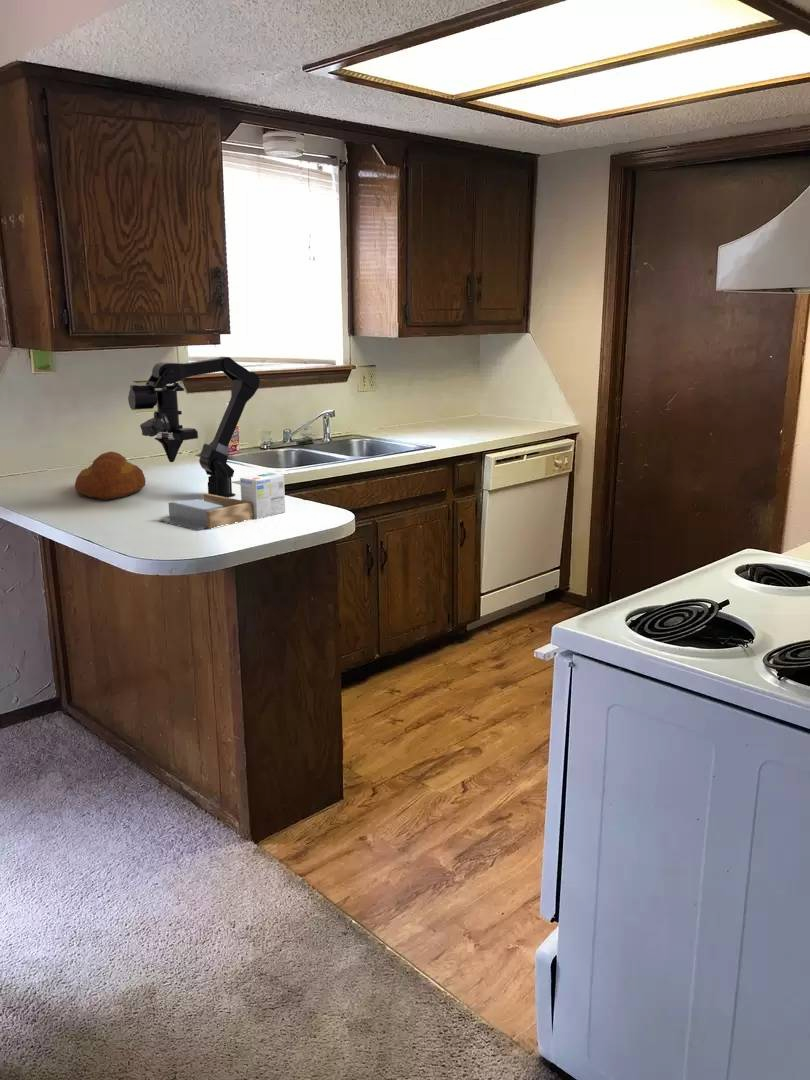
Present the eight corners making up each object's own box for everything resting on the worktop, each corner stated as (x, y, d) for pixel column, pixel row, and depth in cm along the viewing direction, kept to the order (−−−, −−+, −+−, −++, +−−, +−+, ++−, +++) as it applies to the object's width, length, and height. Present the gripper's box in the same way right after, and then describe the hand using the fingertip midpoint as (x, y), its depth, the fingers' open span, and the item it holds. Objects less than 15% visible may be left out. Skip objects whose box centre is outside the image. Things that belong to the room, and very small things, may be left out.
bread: (151, 481, 284) (148, 444, 281) (140, 502, 253) (136, 460, 250) (85, 483, 280) (81, 445, 277) (65, 504, 249) (60, 462, 246)
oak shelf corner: (207, 509, 243) (206, 493, 241) (253, 518, 231) (252, 502, 230) (165, 518, 232) (163, 501, 231) (210, 529, 220) (209, 511, 219)
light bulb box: (270, 509, 243) (268, 471, 240) (286, 512, 239) (285, 474, 236) (240, 515, 235) (238, 477, 232) (257, 519, 231) (255, 480, 228)
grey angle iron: (173, 518, 231) (172, 502, 230) (211, 527, 222) (210, 510, 221) (160, 521, 228) (158, 504, 227) (198, 530, 219) (197, 513, 217)
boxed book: (198, 513, 239) (197, 499, 238) (223, 520, 231) (222, 505, 230) (172, 518, 233) (171, 503, 232) (197, 525, 225) (197, 510, 224)
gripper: (123, 408, 244) (128, 462, 248) (164, 412, 233) (168, 469, 237) (156, 404, 252) (160, 457, 256) (197, 408, 241) (201, 463, 245)
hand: (171, 461), depth 248 cm, fingers closed
